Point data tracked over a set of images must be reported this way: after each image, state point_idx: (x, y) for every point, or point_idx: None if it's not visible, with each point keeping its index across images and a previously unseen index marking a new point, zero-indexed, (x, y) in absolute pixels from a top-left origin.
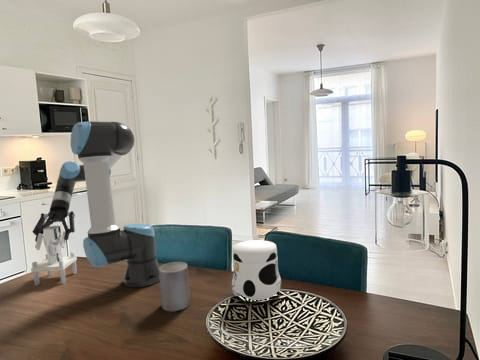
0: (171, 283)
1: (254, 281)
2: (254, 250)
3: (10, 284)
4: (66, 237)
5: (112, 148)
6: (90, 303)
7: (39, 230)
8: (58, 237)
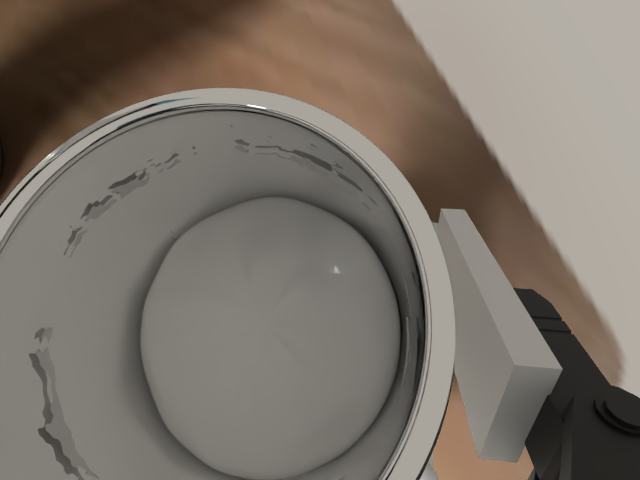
0: None
1: None
2: None
3: (577, 330)
4: None
5: None
6: (128, 30)
7: (631, 474)
8: (157, 245)
